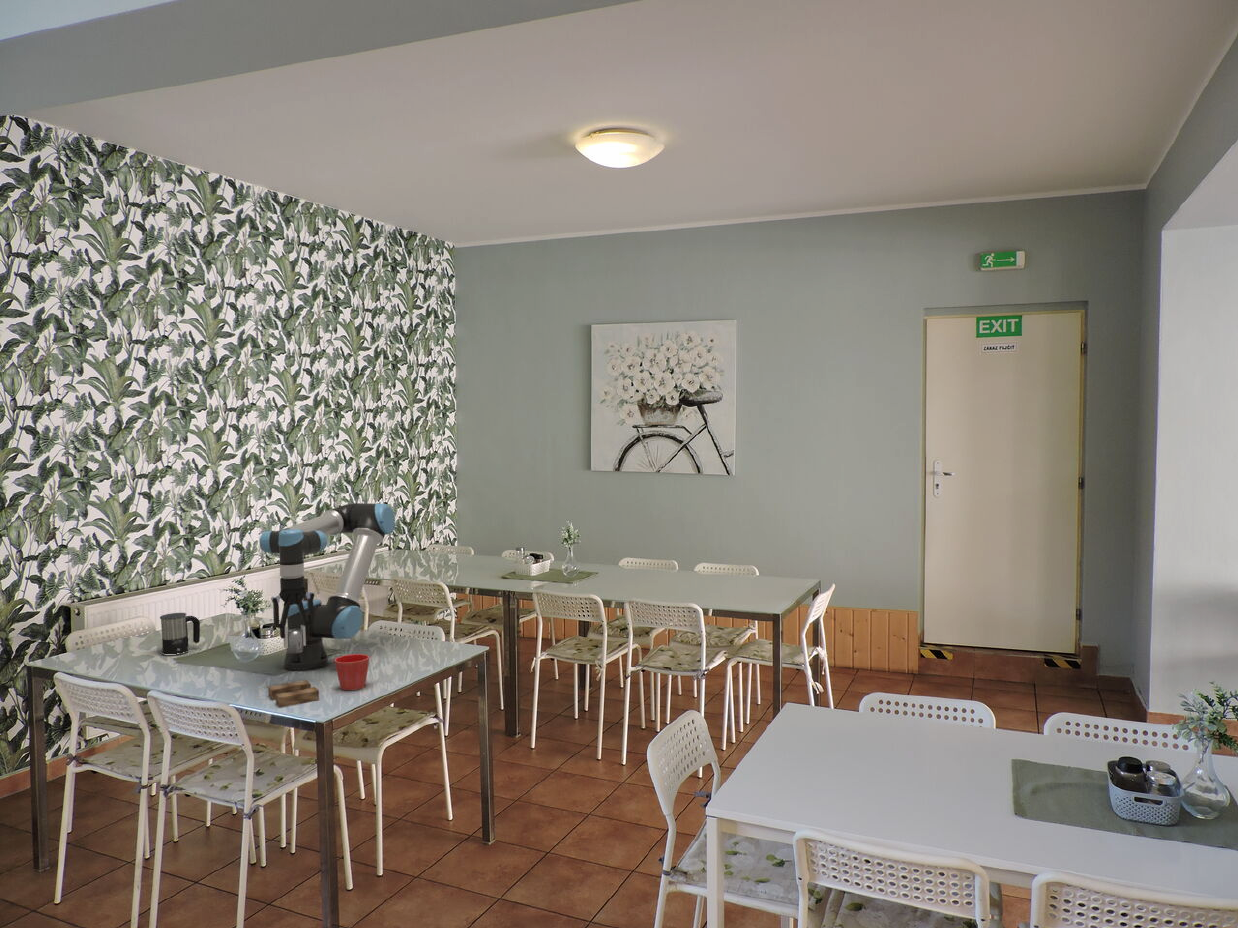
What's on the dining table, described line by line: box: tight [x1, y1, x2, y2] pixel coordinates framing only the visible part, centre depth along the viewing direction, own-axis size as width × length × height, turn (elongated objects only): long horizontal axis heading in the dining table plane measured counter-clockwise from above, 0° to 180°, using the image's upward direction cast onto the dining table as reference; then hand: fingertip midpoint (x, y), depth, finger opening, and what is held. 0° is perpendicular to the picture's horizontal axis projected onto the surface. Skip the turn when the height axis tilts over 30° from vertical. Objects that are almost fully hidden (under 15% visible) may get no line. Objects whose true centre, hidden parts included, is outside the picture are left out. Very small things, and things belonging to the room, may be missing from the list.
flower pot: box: [334, 653, 370, 691], centre depth 292 cm, size 11×11×10 cm
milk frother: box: [159, 612, 201, 654], centre depth 344 cm, size 14×16×15 cm
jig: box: [267, 679, 320, 708], centre depth 282 cm, size 12×14×3 cm
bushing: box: [286, 629, 303, 654], centre depth 293 cm, size 5×5×7 cm
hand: (294, 646), depth 293 cm, fingers closed on bushing, 5 cm apart
